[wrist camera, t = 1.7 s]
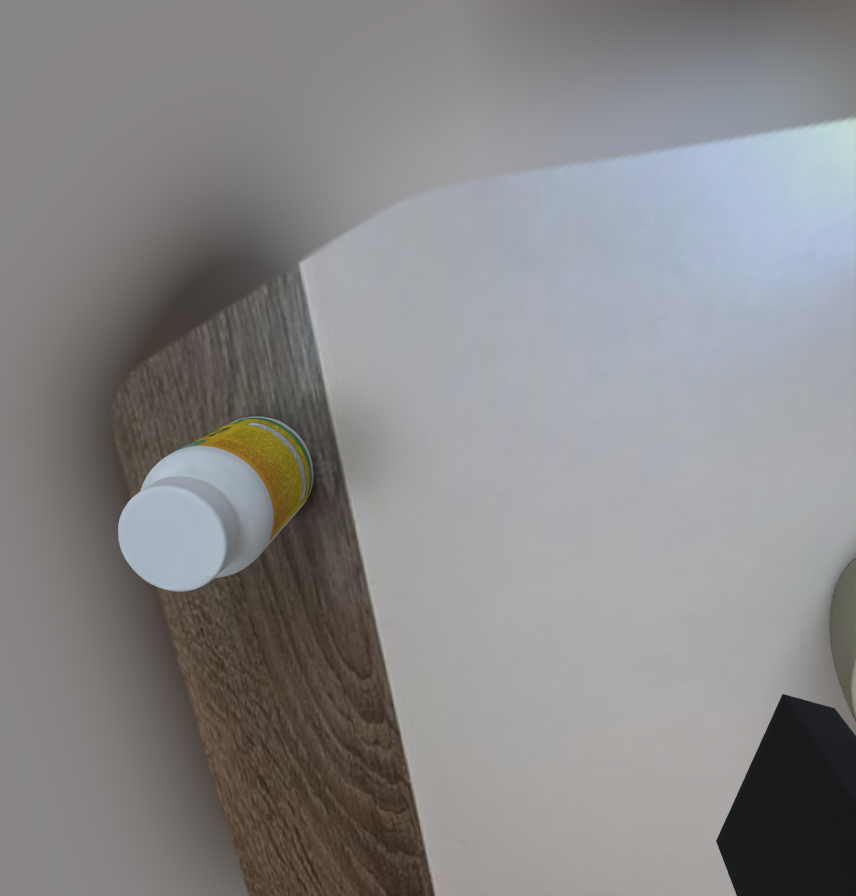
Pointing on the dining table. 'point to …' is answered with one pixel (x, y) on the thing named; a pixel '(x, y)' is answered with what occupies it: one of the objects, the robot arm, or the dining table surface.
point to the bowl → (845, 634)
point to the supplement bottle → (216, 503)
